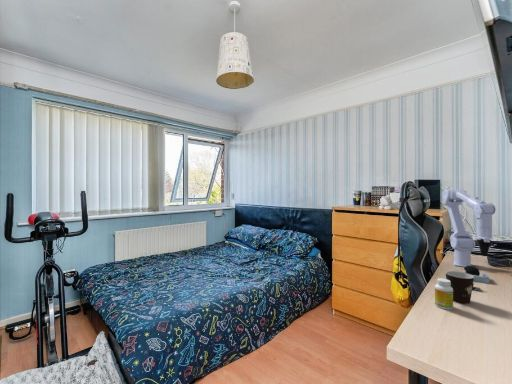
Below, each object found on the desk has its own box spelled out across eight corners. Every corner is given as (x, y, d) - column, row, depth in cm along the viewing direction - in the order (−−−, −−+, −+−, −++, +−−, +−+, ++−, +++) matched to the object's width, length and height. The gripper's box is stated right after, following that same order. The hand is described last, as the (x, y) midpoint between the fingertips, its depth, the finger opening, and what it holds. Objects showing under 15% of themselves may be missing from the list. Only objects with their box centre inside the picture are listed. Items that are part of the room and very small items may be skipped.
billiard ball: (482, 280, 119) (482, 268, 118) (467, 279, 120) (467, 267, 120) (475, 276, 124) (475, 264, 124) (460, 275, 126) (460, 263, 126)
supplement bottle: (448, 311, 89) (448, 283, 89) (431, 305, 94) (431, 278, 94) (456, 307, 91) (456, 281, 91) (439, 302, 96) (439, 276, 96)
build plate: (449, 288, 111) (449, 277, 111) (448, 283, 117) (448, 273, 117) (487, 294, 104) (487, 283, 104) (483, 289, 110) (483, 278, 110)
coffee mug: (463, 296, 101) (463, 271, 101) (480, 305, 93) (480, 278, 93) (432, 294, 103) (432, 270, 103) (446, 304, 94) (446, 277, 94)
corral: (455, 273, 128) (455, 268, 128) (485, 278, 122) (485, 273, 122) (457, 278, 122) (457, 273, 121) (489, 283, 115) (489, 278, 115)
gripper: (471, 224, 135) (471, 250, 135) (476, 228, 123) (476, 256, 123) (489, 226, 131) (489, 252, 131) (495, 229, 119) (495, 258, 119)
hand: (484, 254), depth 127 cm, fingers closed
